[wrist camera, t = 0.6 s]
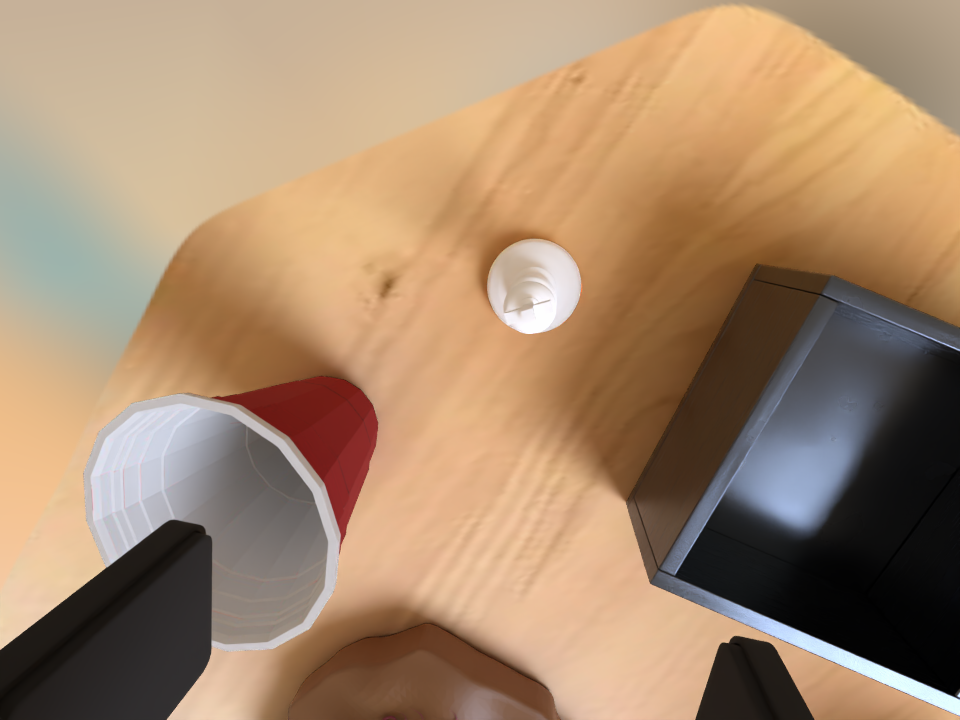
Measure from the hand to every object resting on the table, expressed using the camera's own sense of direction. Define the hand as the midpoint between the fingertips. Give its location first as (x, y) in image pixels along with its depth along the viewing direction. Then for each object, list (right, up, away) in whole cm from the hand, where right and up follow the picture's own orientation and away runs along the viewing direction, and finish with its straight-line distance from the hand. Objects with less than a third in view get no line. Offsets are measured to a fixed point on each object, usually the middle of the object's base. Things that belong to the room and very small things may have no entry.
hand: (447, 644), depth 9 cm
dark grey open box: (+18, +1, +18) cm, 26 cm away
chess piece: (+3, +9, +18) cm, 21 cm away
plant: (-3, -22, +27) cm, 34 cm away
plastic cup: (-8, +1, +22) cm, 23 cm away
